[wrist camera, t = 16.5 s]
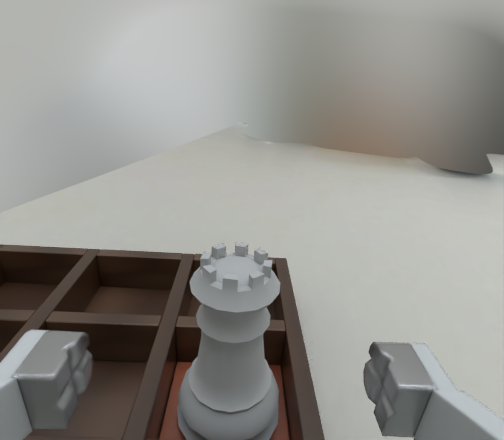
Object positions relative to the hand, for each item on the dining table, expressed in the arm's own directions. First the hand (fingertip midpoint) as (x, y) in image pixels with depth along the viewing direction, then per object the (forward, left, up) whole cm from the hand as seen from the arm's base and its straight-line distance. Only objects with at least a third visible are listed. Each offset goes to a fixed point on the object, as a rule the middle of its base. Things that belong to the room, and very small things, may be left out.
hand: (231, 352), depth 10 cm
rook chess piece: (0, +3, -7) cm, 7 cm away
